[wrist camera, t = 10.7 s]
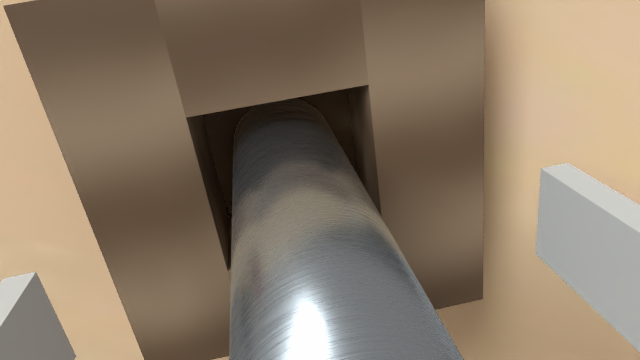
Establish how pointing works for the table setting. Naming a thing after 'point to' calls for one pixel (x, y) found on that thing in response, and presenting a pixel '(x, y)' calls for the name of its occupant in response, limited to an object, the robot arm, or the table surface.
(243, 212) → the peg
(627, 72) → the table surface
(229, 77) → the socket
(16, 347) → the robot arm
